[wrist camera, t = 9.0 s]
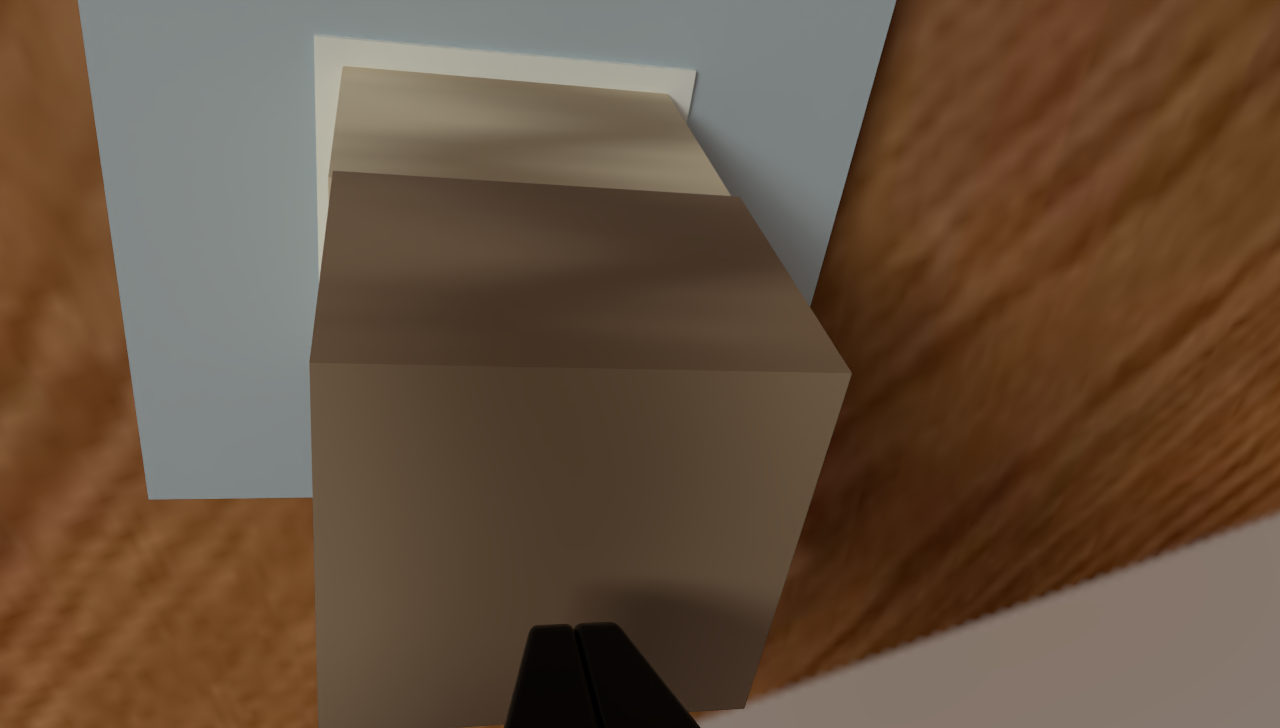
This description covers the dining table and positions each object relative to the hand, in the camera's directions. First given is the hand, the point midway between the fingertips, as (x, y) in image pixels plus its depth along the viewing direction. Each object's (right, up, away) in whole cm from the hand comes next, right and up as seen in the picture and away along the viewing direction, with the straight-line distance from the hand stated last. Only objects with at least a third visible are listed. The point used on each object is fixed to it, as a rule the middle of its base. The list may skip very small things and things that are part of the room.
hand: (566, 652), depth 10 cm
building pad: (-2, +6, +8) cm, 10 cm away
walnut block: (-1, +3, +4) cm, 5 cm away
